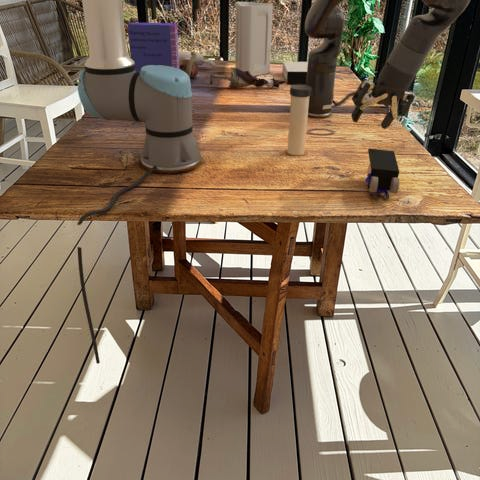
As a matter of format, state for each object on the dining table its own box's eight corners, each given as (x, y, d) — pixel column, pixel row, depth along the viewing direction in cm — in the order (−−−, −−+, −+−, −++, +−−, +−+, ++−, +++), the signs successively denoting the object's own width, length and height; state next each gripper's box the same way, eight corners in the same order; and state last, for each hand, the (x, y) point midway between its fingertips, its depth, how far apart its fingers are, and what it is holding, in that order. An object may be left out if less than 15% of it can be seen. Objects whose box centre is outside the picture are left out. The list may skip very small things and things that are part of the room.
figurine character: (397, 209, 105) (389, 175, 117) (404, 179, 101) (395, 147, 112) (366, 207, 106) (361, 173, 118) (371, 177, 101) (366, 145, 113)
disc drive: (287, 84, 198) (287, 71, 196) (281, 72, 218) (282, 61, 215) (329, 84, 199) (330, 72, 196) (320, 72, 218) (321, 61, 216)
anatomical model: (190, 85, 210) (181, 86, 196) (175, 71, 209) (165, 71, 195) (208, 63, 206) (200, 61, 191) (193, 48, 205) (184, 46, 191)
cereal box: (180, 88, 189) (177, 22, 177) (178, 91, 185) (174, 24, 173) (137, 87, 190) (130, 21, 178) (134, 90, 186) (127, 23, 173)
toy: (170, 75, 210) (169, 59, 206) (146, 65, 227) (145, 49, 223) (217, 69, 221) (217, 53, 218) (191, 60, 239) (191, 45, 235)
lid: (315, 95, 122) (315, 88, 121) (297, 97, 120) (297, 90, 119) (303, 90, 126) (303, 83, 125) (285, 92, 124) (286, 85, 123)
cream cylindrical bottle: (307, 153, 130) (313, 90, 121) (293, 156, 128) (298, 92, 119) (298, 148, 134) (303, 86, 125) (283, 150, 132) (288, 87, 123)
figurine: (210, 87, 179) (288, 95, 182) (212, 65, 176) (291, 73, 180) (208, 84, 201) (278, 91, 205) (210, 64, 198) (280, 71, 202)
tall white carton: (273, 76, 210) (276, 6, 196) (239, 77, 209) (240, 6, 194) (266, 67, 226) (268, 2, 212) (235, 67, 225) (235, 1, 210)
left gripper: (214, -58, 143) (215, 20, 153) (135, -59, 146) (141, 17, 157) (207, -58, 136) (209, 23, 147) (125, -59, 140) (133, 20, 151)
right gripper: (422, 64, 114) (387, 121, 125) (371, 49, 109) (339, 109, 120) (435, 80, 109) (397, 138, 120) (382, 65, 104) (348, 126, 115)
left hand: (174, 20), depth 152 cm, fingers open, 13 cm apart
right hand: (368, 123), depth 120 cm, fingers open, 8 cm apart
